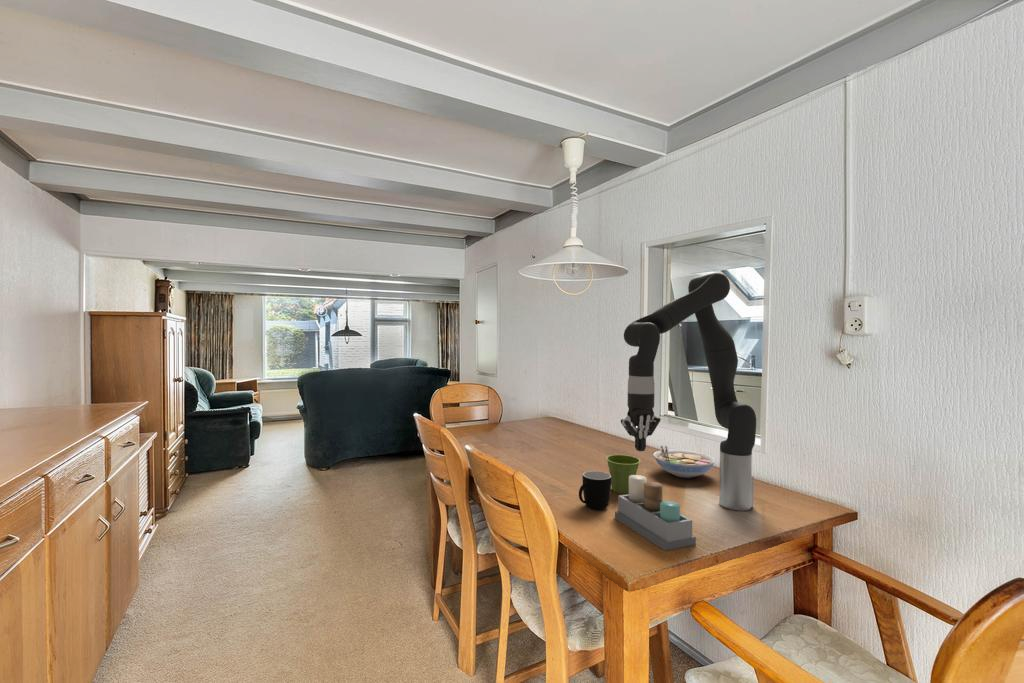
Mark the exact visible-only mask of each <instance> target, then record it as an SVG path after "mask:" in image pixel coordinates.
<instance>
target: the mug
mask: <svg viewBox="0 0 1024 683" xmlns="http://www.w3.org/2000/svg"><path fill="white" fill-rule="evenodd" d="M611 491H612V486H611V475H610V473H609V472H605V471H600V470H588V471H584V472H583V473H582V484H581V486H580V488H579V490H578V499H579V501H580V502H581V503H582V504H585V506H586V507H587V509H589V510H592V511H603V510H606V509H608V506H609V503H610V499H611Z"/></svg>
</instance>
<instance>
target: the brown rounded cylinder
mask: <svg viewBox="0 0 1024 683" xmlns="http://www.w3.org/2000/svg"><path fill="white" fill-rule="evenodd" d="M663 488H664V487H663V485H662V484H661V483H659V482H652V481H646V483H644V509H646V510H648V511H653V512H658V511H660V502H662V501H663Z"/></svg>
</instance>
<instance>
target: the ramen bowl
mask: <svg viewBox="0 0 1024 683" xmlns="http://www.w3.org/2000/svg"><path fill="white" fill-rule="evenodd" d="M660 448H661V449H660V450H657V451H654V453H653V457H654V459H655V461H656V463H657V464H658V465H659V466H660V468H662V469H663V470H664V471H666V472H667V473H669V474H672V475H673V476H675V477H678V478H680V479H681V478H682V479H691V478H695V477H699V476H701V475H704V474H706V473H708V472H709V471H710V470H711V469H712V467H713V466H714V464H715V462H716V458H715V457H713V456H712V455H708V454H706V453H703V452H699V451H694V450H686V449H668V446H667V445H665V447H663V445H660ZM664 448H665V449H664Z"/></svg>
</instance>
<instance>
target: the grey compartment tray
mask: <svg viewBox="0 0 1024 683" xmlns="http://www.w3.org/2000/svg"><path fill="white" fill-rule="evenodd" d="M617 500H618V501H617V502H618V505H617V508H618V510H614V518H615V520H617V521H619V522H620V523H622V524H624V525H625V526H626V527H628V528H630V529H631V530H632V531H634V532H636V533H637V534H639V535H640V536H642V538H645V539H646V540H648V541H649V542H651V543H652V544H653V545H655V546H657V547H658V548H659V549H661V550H663V551H664V552H665V551H671V550H675V549H680V548H684V547H690V546H695V545H697V544H696V541H697V538H696V536H695V535H693V519H691V518H689V517H688V516H685V515H683V514H682V513H680V521H676V522H670V523H668V522H666V521H665V520H663V519H661V518H660V511H658V512H653V511H648V510H646V509H644V502H642V503H637V502H632V501H630V500H629V494H627V493H626V494H620V495H618V496H617Z"/></svg>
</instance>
